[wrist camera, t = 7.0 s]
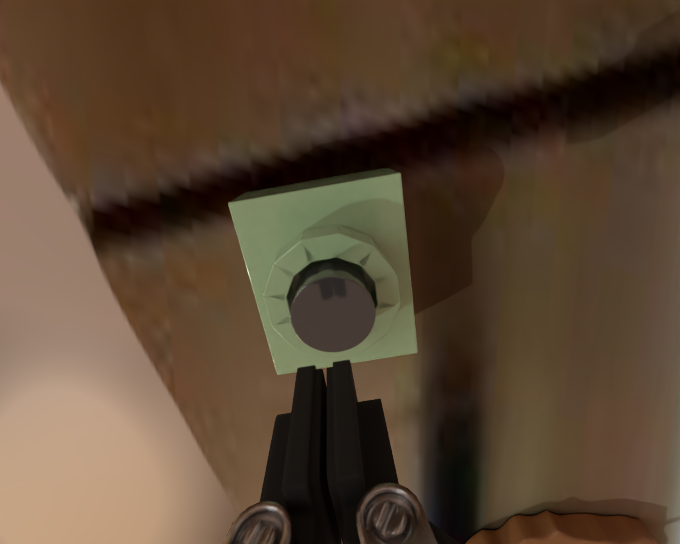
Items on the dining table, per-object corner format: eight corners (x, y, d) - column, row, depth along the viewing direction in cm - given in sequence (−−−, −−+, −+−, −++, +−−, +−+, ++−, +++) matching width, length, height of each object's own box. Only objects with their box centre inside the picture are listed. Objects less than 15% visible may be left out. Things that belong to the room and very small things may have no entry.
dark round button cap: (286, 268, 17) (281, 284, 15) (365, 255, 17) (369, 270, 15) (302, 336, 18) (299, 358, 16) (375, 324, 18) (380, 345, 16)
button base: (245, 192, 21) (214, 210, 15) (387, 167, 20) (410, 176, 15) (284, 340, 25) (272, 398, 19) (404, 321, 24) (427, 373, 19)
